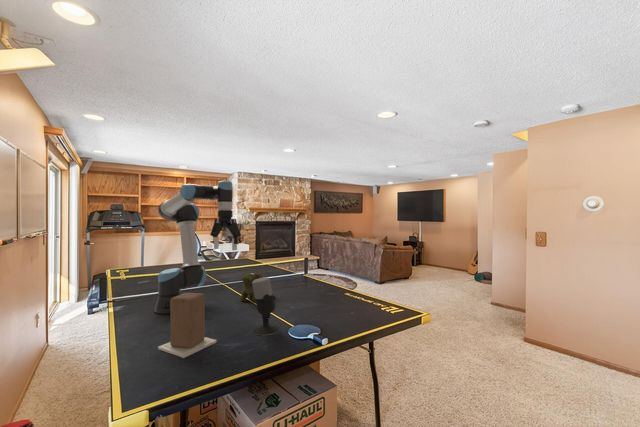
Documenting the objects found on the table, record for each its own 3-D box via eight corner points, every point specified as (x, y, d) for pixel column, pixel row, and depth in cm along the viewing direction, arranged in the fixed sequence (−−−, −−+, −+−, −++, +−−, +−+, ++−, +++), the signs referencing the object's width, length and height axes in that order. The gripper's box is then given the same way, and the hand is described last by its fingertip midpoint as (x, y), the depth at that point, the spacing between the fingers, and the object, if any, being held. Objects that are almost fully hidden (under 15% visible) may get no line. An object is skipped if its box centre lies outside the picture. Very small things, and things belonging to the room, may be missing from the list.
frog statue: (267, 303, 202) (255, 303, 178) (245, 301, 204) (230, 300, 181) (270, 275, 208) (259, 271, 184) (249, 273, 210) (235, 269, 186)
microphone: (251, 326, 146) (251, 276, 146) (277, 324, 149) (277, 274, 150) (252, 337, 133) (252, 281, 134) (281, 333, 137) (281, 279, 137)
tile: (158, 349, 121) (158, 346, 121) (191, 335, 135) (191, 332, 135) (183, 358, 114) (183, 355, 114) (216, 342, 128) (216, 339, 128)
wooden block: (190, 349, 119) (190, 299, 119) (169, 346, 121) (169, 297, 121) (205, 339, 128) (205, 293, 129) (185, 337, 131) (185, 291, 131)
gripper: (203, 210, 162) (203, 249, 162) (237, 209, 150) (237, 251, 150) (214, 210, 168) (214, 247, 168) (247, 209, 156) (247, 250, 156)
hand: (225, 249), depth 159 cm, fingers open, 13 cm apart
